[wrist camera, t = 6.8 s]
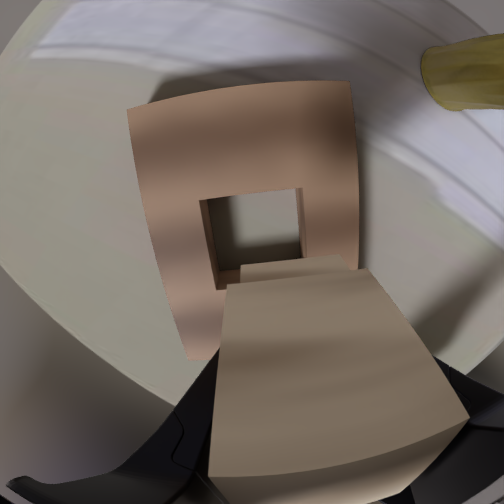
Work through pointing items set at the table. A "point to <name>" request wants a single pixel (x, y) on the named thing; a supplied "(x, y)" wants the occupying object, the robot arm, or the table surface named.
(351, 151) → the board
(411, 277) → the table surface
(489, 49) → the vase
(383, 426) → the peg
